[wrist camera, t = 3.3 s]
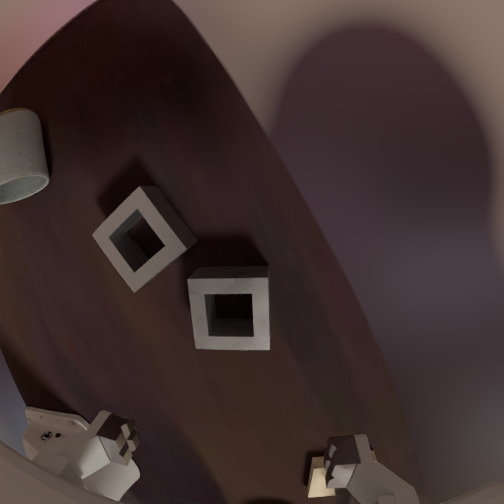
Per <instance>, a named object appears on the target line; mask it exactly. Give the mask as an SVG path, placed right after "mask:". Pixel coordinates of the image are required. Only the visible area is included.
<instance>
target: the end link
mask: <svg viewBox="0 0 504 504" xmlns="http://www.w3.org/2000/svg"><path fill="white" fill-rule="evenodd" d="M187 281H188V290H189V299H190V307H191V315H192V323H193V331H194V338H195V345H196V349H221V350H270V336H271V320H270V283H269V266H228V267H198V268H197V269H196V270H195V271H194V272H193V274H192V275H191V276H190V277H189V278H188V279H187ZM215 294H252V304H253V318H243V319H231V318H217V316H216V305H215Z"/></svg>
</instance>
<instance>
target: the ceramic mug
mask: <svg viewBox="0 0 504 504" xmlns="http://www.w3.org/2000/svg"><path fill="white" fill-rule="evenodd" d="M48 183H49V173H48V168H47V163H46V157H45V151H44V145H43V138H42V129H41V124H40V120H39V118H38V116H37V114H36V113H35V112H33V111H32V110H30V109H26V108H14V109H9V110H6V111H4V112H2V113H0V204H5V203H10V202H14V201H17V200H21V199H23V198H26V197H29V196H31V195H33V194H34V193H37V192H39V191H40V190H42V189H43V188H44V187H45V186H46V185H47V184H48Z"/></svg>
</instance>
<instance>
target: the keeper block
mask: <svg viewBox="0 0 504 504" xmlns="http://www.w3.org/2000/svg"><path fill="white" fill-rule="evenodd" d="M371 453H372V457H373V460H374V462H376V461H377V460H376V457H375V454H374V450H371ZM323 459H324V457H312V464H311V470H310V476H309V481H308V487H307V488H308V497H321V496H331V495H335V498H336V504H353V501H352V496H351V493H350V492H349V491H348V489H347V487H345V488H330V489H326V481H325V475H326V472H327V471H326V470H325V469H324V460H323Z"/></svg>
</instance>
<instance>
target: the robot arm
mask: <svg viewBox="0 0 504 504" xmlns="http://www.w3.org/2000/svg"><path fill="white" fill-rule="evenodd" d="M25 415H26V419H27V422H28V424H29V427H28V428H27V429H26V431H25V432H24V434H23V439H22V442H23V446H24V449H25V452H26V455H27V457H28V458H26V457H24V456H22V455H21V454H20V453H18V452H16V451H15V450H13V449H12V448H10V447H9V446H7V445H6V444H5V443H3V442H1V441H0V504H124V503H121V502H119V500H120V499H121V497H122V496H123V495H124V493H125V492H126V491H127V490H128V489H129V488H130V486H131V485H132V484H133V483H134V482H136V481H137V480H138V479H139V476H140V473H139V469H138V467H137V466H136V464H135V463H134V461H133V460H132V459H131V458H132V453H131V452H132V451H134V450H136V448H137V446H138V444H139V433H138V431H137V430H136V429H135V428H134V426H135V421H134V419H132V418H128V417H125V416H121V415H118V414H115V413H111V412H108V411H105V410H103V411H101V412H100V413H99V414H98V415H97V417H96V418H95V419H94V421H93V422H92V423H91V425H90V424H89V423H88V422H87V421H86V420H84V419H83V418H82V417H80V416H78V415H74V414H67V413H61V412H55V411H49V410H44V409H38V408H34V407H27V408H26V409H25ZM327 445H328V448H326V449H325V452H324V459H323V460H324V469H325V470H326V471H327V472H326V475H325V481H326V489H330V488H345V487H347V489H348V491H349V492H350V493H351V494H352V495H353V496H354V497H355V498H356V499H357V500H358V501H359V502H360V503H361V504H419V501H418V498H417V495H416V492H415V489H414V488H413V487H412V486H410V485H409V484H408V483H406V482H405V481H403V480H402V479H401V478H399V477H398V476H396V475H395V474H394V473H392V472H391V471H389V470H388V469H387V468H385V467H384V466H383V465H381V464H380V463H379V462H374V460H373V457H372V453H371V450H370V446H369V443H368V440H367V436H366V435H365V434H361V435H349V436H337V437H329V438H328V441H327ZM441 504H504V485H500V484H497V483H490V484H487V485H485V486H483V487H481V488H478V489H476V490H474V491H472V492H470V493H467V494H465V495H462V496H460V497H457V498H455V499H452V500H449V501H447V502H444V503H441Z"/></svg>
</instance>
